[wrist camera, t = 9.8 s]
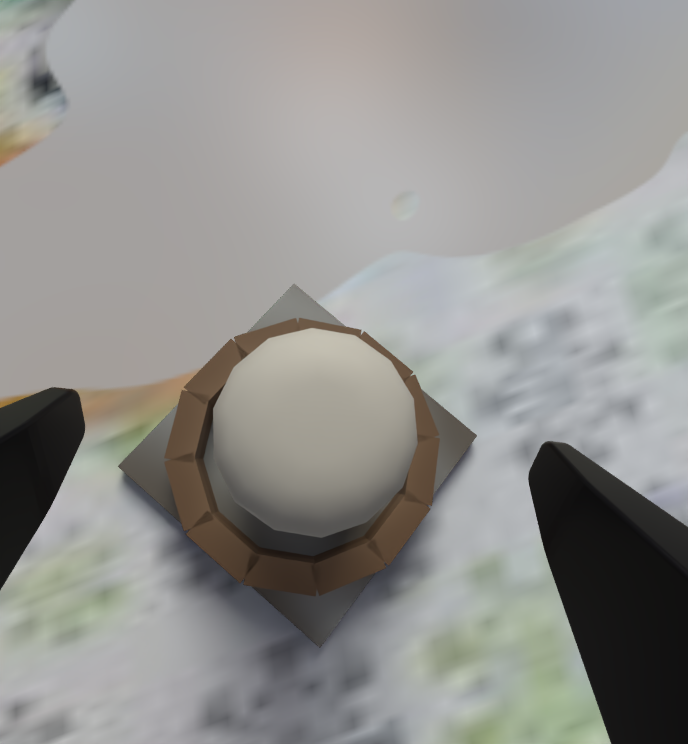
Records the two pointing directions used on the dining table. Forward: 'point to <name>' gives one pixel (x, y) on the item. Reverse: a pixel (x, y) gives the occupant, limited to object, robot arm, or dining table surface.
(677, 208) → the dining table surface
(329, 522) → the salt shaker
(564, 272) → the dining table surface
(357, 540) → the stand
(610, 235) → the dining table surface
